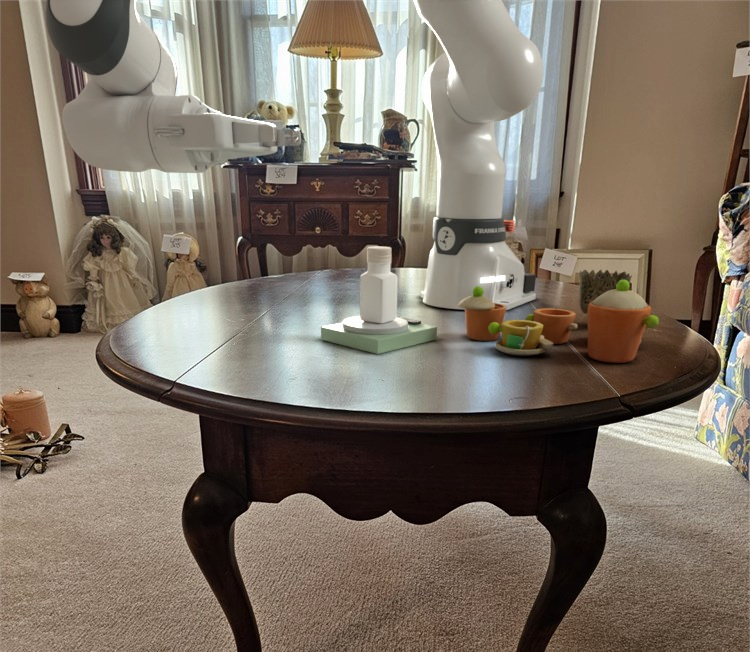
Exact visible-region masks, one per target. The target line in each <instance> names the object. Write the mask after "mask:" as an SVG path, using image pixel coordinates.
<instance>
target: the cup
mask: <svg viewBox="0 0 750 652" xmlns="http://www.w3.org/2000/svg"><path fill="white" fill-rule="evenodd" d="M589 272H590V273H589ZM632 277H633V275H632V274H631V275H630V273H627V272H626V271H621V272H620V273H618V270H614V272H613V273H612V274H611V273H610V271H609V270H608V269H606V270H605V271H603V270H602V269H599V270H598V271H597V272H596V273H595V270H594V269H592V270H591V271H588V270H587V269H583V270H580V271H579V281H578V282H579V284H578V305H579V308H580V311H581V312H582V313H583V315H584V314H587V313H588V305H589V303H590V302H592V301H594V300H595V299H596V298H597V297H599V296H600V295H602V294H603V293H605V292H607V291H610V290H614V289H617V287H616V286H617V283H618V282H619V281H620V280H627V281H628V282H629V284H630V283H631V280H632ZM585 325H586V326H587V327H588V325H587V324H585Z"/></svg>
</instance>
